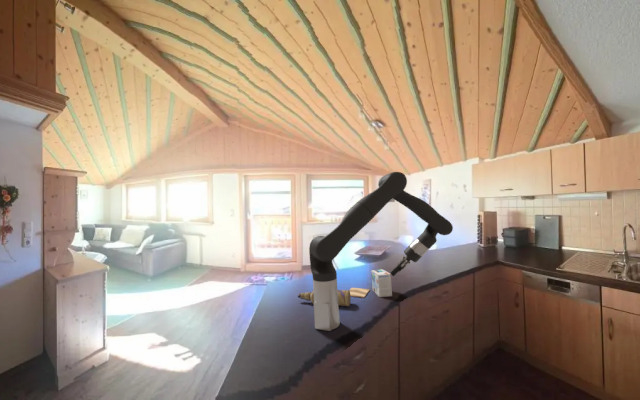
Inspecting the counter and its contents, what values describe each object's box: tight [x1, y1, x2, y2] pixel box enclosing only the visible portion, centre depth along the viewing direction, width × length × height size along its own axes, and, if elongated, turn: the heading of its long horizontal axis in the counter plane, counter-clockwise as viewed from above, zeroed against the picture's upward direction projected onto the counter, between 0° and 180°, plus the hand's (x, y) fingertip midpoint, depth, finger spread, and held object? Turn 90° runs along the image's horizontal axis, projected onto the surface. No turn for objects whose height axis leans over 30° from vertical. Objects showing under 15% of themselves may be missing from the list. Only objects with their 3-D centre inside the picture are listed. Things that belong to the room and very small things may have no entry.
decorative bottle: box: [297, 289, 352, 307], centre depth 111 cm, size 26×8×7 cm, turn 70°
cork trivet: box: [349, 287, 371, 299], centre depth 122 cm, size 12×10×1 cm
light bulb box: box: [370, 268, 393, 298], centre depth 120 cm, size 11×7×11 cm, turn 6°
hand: (392, 274), depth 118 cm, fingers closed
